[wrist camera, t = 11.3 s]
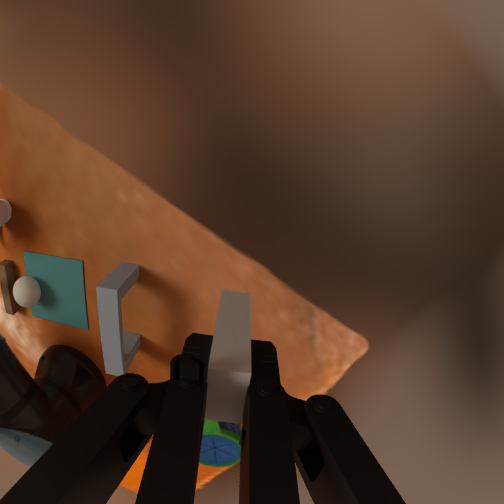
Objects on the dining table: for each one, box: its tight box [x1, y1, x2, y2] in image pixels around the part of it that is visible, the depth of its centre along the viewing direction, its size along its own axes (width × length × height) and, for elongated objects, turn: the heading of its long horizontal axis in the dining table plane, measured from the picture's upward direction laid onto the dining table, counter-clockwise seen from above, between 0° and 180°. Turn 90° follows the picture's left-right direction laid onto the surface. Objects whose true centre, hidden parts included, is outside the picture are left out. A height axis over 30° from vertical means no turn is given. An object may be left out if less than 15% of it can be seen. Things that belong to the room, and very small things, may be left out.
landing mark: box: [24, 251, 89, 330], centre depth 47 cm, size 13×13×1 cm
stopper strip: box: [0, 260, 20, 315], centre depth 46 cm, size 10×2×2 cm, turn 172°
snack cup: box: [199, 419, 241, 467], centre depth 51 cm, size 16×10×10 cm
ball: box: [13, 276, 41, 308], centre depth 45 cm, size 6×6×6 cm
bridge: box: [96, 262, 141, 376], centre depth 44 cm, size 3×14×9 cm, turn 172°
